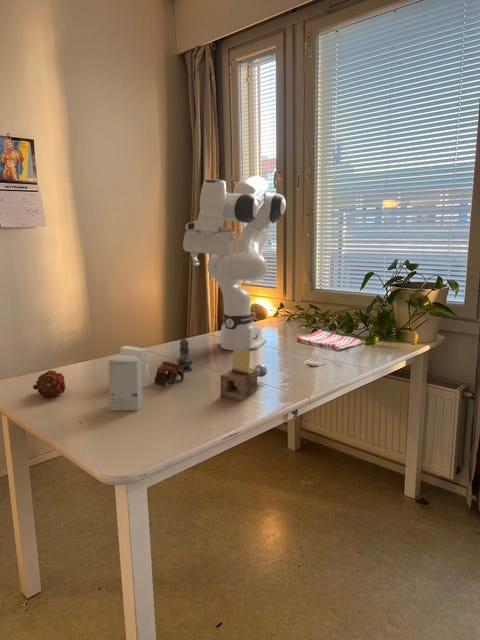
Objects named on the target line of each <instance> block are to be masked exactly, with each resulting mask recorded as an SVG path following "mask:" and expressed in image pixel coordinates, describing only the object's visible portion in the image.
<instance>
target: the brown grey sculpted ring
mask: <svg viewBox="0 0 480 640" xmlns="http://www.w3.org/2000/svg"><path fill="white" fill-rule="evenodd" d="M161 363H162V364H160V365H159V366H158V367H157V369H156V373H155V377H154V378H153V384H154V385H156V386H159V387H161V388H166V387H167V384H168V385H169V386H173V385H175V383H176V380H177V377H178V376H180V381H182V382H183V381H184V377H185V374H184V372H183V369H184V368H183V367H181V366H179V365H178V363H175V362H174V363H173V362H170V361H162V362H161Z"/></svg>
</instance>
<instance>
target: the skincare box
mask: <svg viewBox="0 0 480 640" xmlns="http://www.w3.org/2000/svg"><path fill="white" fill-rule="evenodd" d="M108 388H109V390H108V391H109V394H108V395H109V396H108V397H109V410H110V411H111V412H113V411H114V412H115V411H123V412H124V411H126V412H127V411H135V412H137V411H139V410H140V407H141V406H142V404H143V395H142V393H143V390H142V388H143V387H142V373H141V356H130V355H121V354H120V355H119V354H118V355H117V354H116V355H112V357H110V358H109V359H108Z"/></svg>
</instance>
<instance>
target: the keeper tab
mask: <svg viewBox="0 0 480 640" xmlns="http://www.w3.org/2000/svg"><path fill="white" fill-rule="evenodd" d="M232 353H233V355H232V366H231V367H232V368H231V369H232V371H235V372H241V373H246V374H249V369H250V368H251V355H252V354H251V353H252V351H251V350H240V349H234V350H233V352H232Z"/></svg>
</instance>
